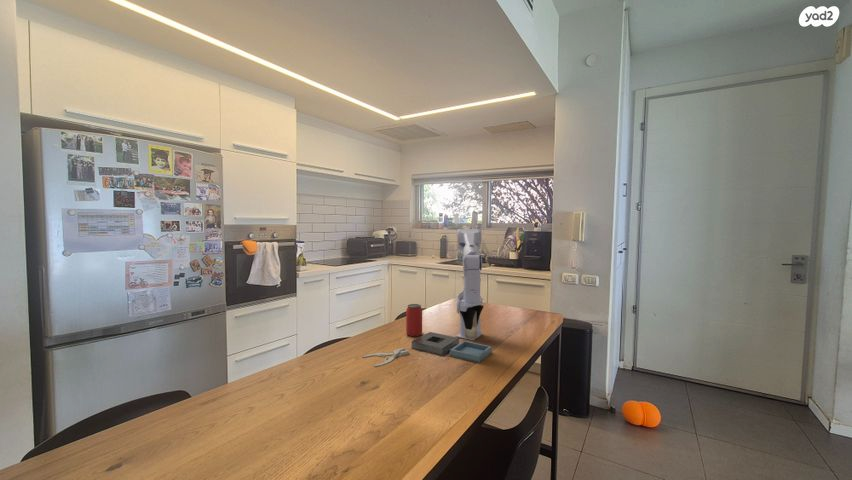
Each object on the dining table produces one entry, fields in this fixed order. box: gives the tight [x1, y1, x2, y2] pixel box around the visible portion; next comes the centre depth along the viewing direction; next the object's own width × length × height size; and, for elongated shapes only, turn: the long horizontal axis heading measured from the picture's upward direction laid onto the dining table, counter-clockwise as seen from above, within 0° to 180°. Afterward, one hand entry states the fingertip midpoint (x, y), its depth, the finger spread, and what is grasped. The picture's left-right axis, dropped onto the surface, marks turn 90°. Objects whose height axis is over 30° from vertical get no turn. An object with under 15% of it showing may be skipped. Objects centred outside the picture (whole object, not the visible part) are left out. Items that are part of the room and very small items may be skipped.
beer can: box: [405, 303, 423, 337], centre depth 142 cm, size 7×7×12 cm
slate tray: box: [449, 340, 493, 364], centre depth 121 cm, size 11×11×2 cm
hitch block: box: [411, 331, 460, 356], centre depth 129 cm, size 13×13×2 cm
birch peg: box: [465, 312, 478, 340], centre depth 121 cm, size 4×4×9 cm
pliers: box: [361, 347, 410, 368], centre depth 118 cm, size 10×2×15 cm
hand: (471, 327), depth 121 cm, fingers closed on birch peg, 4 cm apart
